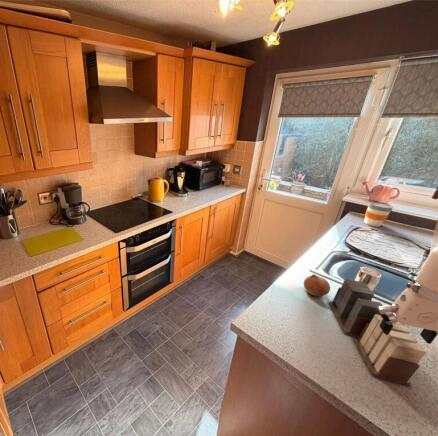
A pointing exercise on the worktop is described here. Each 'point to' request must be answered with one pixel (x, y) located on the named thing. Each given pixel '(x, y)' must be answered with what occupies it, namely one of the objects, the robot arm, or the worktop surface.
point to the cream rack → (390, 353)
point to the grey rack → (354, 307)
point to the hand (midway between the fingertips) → (403, 334)
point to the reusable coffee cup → (377, 213)
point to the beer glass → (368, 277)
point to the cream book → (385, 342)
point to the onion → (316, 286)
